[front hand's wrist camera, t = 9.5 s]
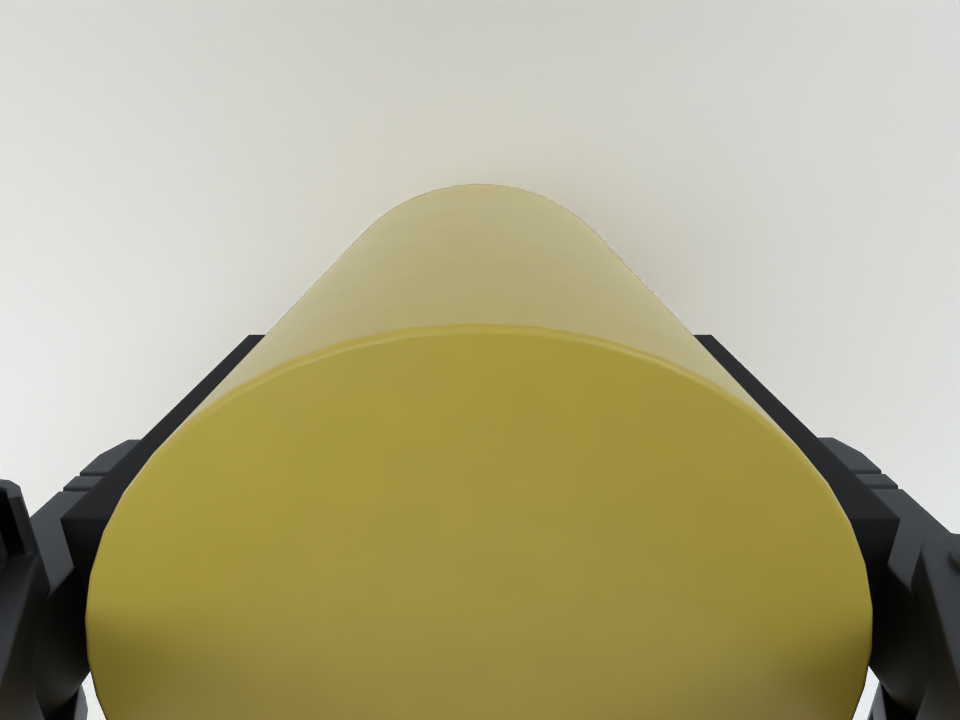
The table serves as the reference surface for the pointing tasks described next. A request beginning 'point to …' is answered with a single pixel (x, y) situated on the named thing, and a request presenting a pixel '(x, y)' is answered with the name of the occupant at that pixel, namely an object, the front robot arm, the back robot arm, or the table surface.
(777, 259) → the table surface
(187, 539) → the tin
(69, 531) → the front robot arm
